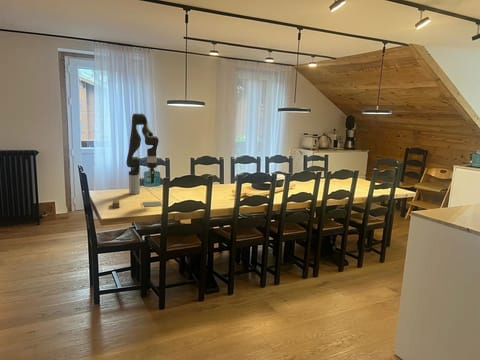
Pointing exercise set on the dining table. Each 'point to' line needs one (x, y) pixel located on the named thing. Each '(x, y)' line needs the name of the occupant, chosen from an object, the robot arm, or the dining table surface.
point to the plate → (151, 204)
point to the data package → (148, 179)
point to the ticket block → (115, 203)
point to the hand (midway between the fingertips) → (152, 182)
